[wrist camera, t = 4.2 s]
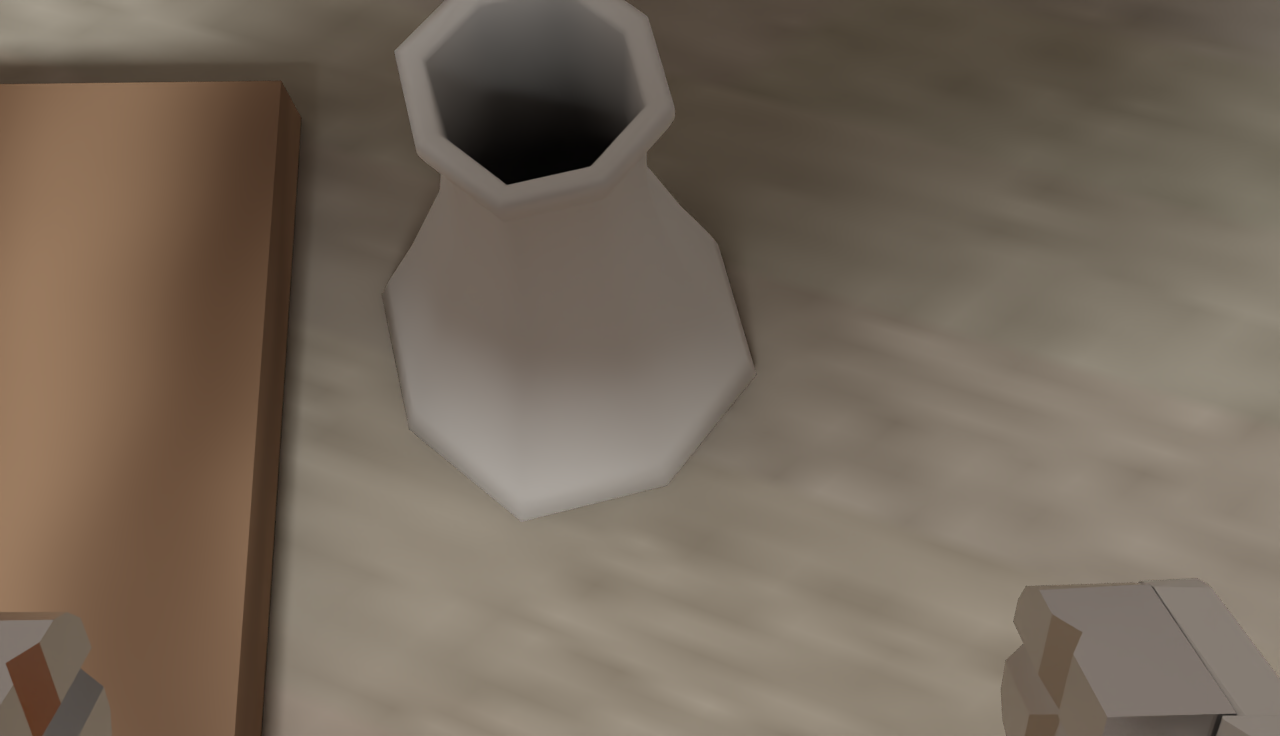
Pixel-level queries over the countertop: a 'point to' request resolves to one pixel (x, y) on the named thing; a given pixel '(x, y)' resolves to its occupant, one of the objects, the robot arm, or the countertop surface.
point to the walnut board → (147, 382)
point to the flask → (555, 260)
